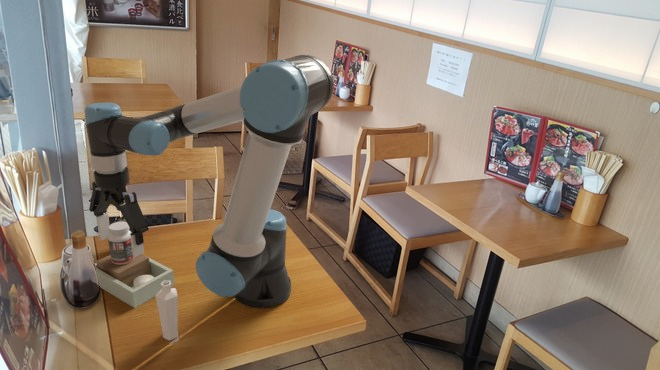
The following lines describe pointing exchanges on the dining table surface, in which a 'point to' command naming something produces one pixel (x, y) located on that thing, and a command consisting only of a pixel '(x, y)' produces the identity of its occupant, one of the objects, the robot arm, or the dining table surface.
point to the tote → (140, 293)
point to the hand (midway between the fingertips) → (121, 246)
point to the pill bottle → (120, 243)
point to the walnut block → (125, 269)
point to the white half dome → (141, 280)
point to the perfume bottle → (168, 311)
